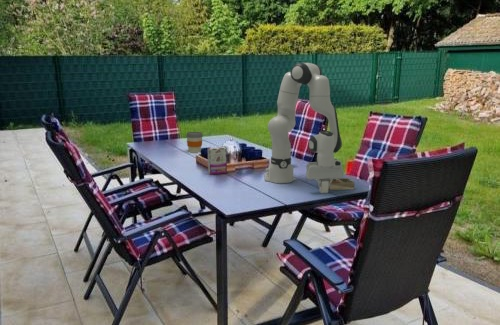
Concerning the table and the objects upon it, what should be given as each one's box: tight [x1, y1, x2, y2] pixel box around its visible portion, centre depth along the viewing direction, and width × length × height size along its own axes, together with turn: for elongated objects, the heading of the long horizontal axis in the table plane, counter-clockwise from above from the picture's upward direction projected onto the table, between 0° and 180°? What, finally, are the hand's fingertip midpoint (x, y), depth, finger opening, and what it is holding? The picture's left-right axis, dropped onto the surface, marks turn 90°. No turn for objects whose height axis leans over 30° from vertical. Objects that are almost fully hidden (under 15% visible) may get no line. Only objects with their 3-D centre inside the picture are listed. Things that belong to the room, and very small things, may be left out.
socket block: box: [328, 177, 356, 191], centre depth 246 cm, size 9×14×4 cm, turn 101°
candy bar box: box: [207, 146, 228, 176], centre depth 273 cm, size 11×5×16 cm, turn 112°
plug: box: [319, 178, 329, 194], centre depth 237 cm, size 4×4×8 cm
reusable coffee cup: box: [185, 131, 204, 154], centre depth 339 cm, size 13×13×15 cm
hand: (323, 186), depth 237 cm, fingers closed on plug, 4 cm apart
